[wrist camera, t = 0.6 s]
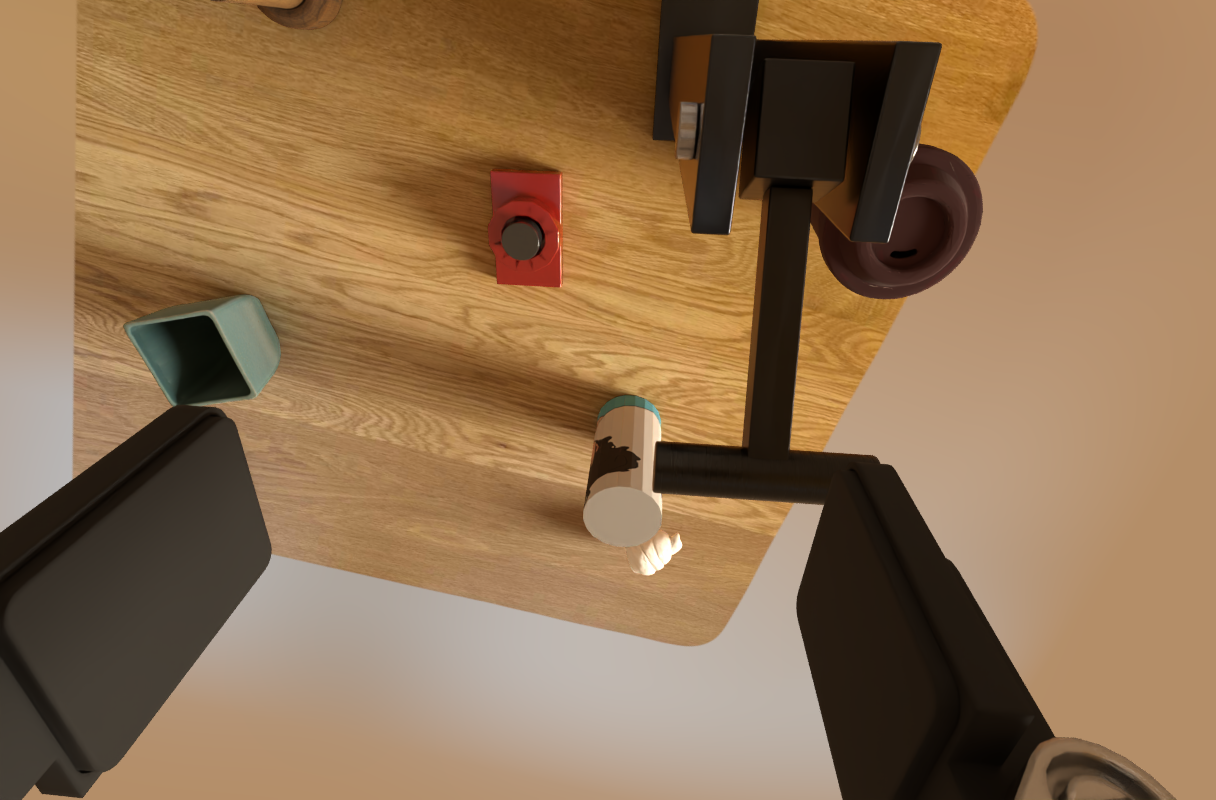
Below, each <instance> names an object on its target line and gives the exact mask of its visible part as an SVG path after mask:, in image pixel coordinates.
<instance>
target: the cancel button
mask: <svg viewBox="0 0 1216 800" xmlns="http://www.w3.org/2000/svg"><path fill="white" fill-rule="evenodd" d="M541 244H542V232H541V230H540V228H539V226H538V225H537V224H536V223H535V222H534V221H532V220H530V219H527V218H518V219H515V220H513V221H512V222H511V223H510V224H509V225H508V226H507V228H506V229H505V230H504V232H503V234H502V246H503V248H504V250H505V252H506V253H507V254H508V255H509V256H510V257H512V258H514V259H516V260H528V259H531V258H532V257H533V256H535V254H536V253H537V251H538V250H539V248H540V246H541Z"/></svg>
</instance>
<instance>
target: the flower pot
mask: <svg viewBox="0 0 1216 800" xmlns="http://www.w3.org/2000/svg"><path fill="white" fill-rule="evenodd" d="M123 327H124V329H125V332H126V334H127V335H128V337H129V339H130V340H131V342H132V343H133V345H134V346H135V348H136V350H137V351H138V352H139V354H140V356H141V357H142V359H143V360H144V362H145V364H146V365H147V367H148V368H149V370H150V371H151V373H152V375H153V376H154V378H155V379H156V381H157V383H158V385H159V386H160V388H161V390H162V391H163V393H164V395H165V396H166V398H167V400H168V401H169V403H170V404H171V405H172V406H173V407H174V406H176V405H192V406H204V405H211V404H218V403H225V402H232V401H240V400H250V399H254V398H256V397H257V396H258V394H259V393H260V392H261V390H262V389H263V388H264V386H265V385H266V384H267V382H268V381H269V380H270V378H271V377H272V376H273V374H274V373H275V371H276V369H277V367H278V365H279V362H280V356H281V351H280V343H279V339H278V337H277V335H276V333H275V331H274V329H273V327H272V325H271V323H270V321H269V319H268V317H267V315H266V313H265V311H264V309H263V306H262V304H261V302H260V301H259V299H258V298H256V297H254V296H252V295H246V294H242V295H235V296H230V297H224V298H218V299H213V300H207V301H201V302H195V303H189V304H182V305H177V306H172V307H169V308H165V309H162V310H160V311H157V312H154V313H151V314H149V315H146V316H143V317H141V318H138V319H135V320H133V321H130V322H127V323H125V324H124V325H123Z"/></svg>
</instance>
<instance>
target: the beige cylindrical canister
mask: <svg viewBox="0 0 1216 800" xmlns="http://www.w3.org/2000/svg"><path fill="white" fill-rule="evenodd" d="M656 441H661V419H660V416H659V412H658V411H657V409H656V408H655V407H654V405H653V404H651V403H650V402H649V401H647V400H646V399H644V398H641V397H638V396H632V395H624V396H619V397H615V398H613V399H612V400H610V401H608V402H607V403H606V404H605V405H604V406H603V407H602V408H601V410H600V412H599V415H598V419H597V425H596V432H595V438H594V445H593V451H592V458H591V464H590V471H589V478H588V484H587V491H586V497H585V504H584V510H583V520H584V523H585V525H586V528H587V529H588V531H589V532H590V533H591V534H592V535H593V536H594V537H595V538H597V539H598V540H600V541H602V542H603V543H606V544H609V545H612V546H618V547H630V546H636V545H640V544H642V543H644V542H647V541H649V540H650V539H651V538H652V537H653V536H654V535H656V534H657V532H658V530H659V528H660V526H661V522H662V494H661V493H654V492H653V490H652V481H653V461H654V449H655V443H656Z"/></svg>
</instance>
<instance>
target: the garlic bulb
mask: <svg viewBox="0 0 1216 800" xmlns="http://www.w3.org/2000/svg"><path fill="white" fill-rule="evenodd" d="M681 547H682V542H681V541H680V536H679V533H677V532H676V533H675V534H674V535H673V536H669V535H668V533H666V532H665V531H663V530H660V529H659V530H658V532H657V534H656V535H654V536H653V537H652V538H651V539H650V540H649V541H647V542H644V543H642V544H640V545H636V546H630V547H625V550H626V555H627V559H628V562H629V565H630V567H631V569H632V570H633V572H635V573H640V574H643V575H652V574H654V573H655V571H658V570H660V569H662V568H663V567H664V565H663V564H667V563H668V562H669V561H670V559H671V555H673V554H675V553H676V552H677V551H679V550H680V549H681Z"/></svg>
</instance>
